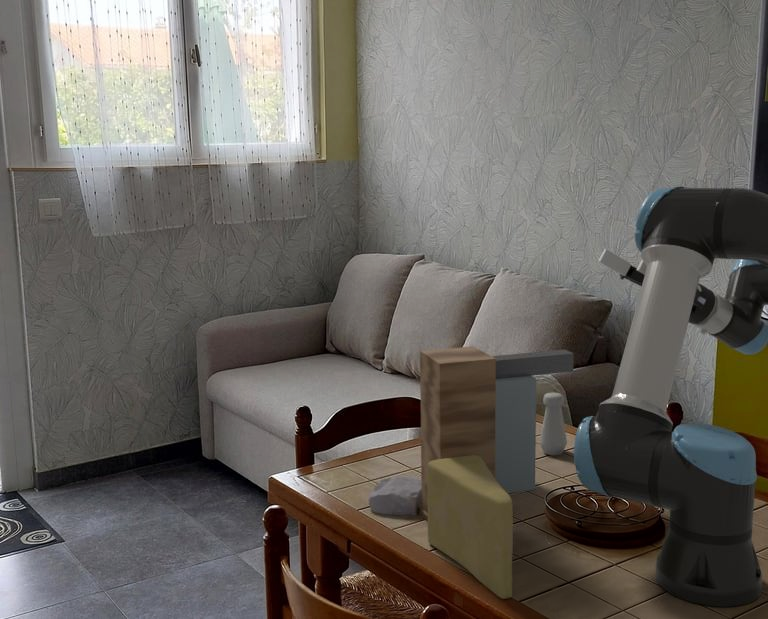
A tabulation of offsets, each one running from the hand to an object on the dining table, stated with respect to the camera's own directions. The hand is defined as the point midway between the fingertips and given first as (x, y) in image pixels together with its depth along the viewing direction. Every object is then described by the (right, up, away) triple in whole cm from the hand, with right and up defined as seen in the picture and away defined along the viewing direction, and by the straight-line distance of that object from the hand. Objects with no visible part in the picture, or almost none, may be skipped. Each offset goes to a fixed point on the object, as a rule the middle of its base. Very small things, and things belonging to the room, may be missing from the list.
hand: (620, 259), depth 171 cm
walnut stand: (-32, -47, -10) cm, 57 cm away
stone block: (-42, -46, -1) cm, 62 cm away
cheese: (-30, -50, -28) cm, 65 cm away
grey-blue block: (-23, -44, +5) cm, 50 cm away
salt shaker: (-8, -40, +24) cm, 48 cm away
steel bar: (-20, -22, +2) cm, 30 cm away
